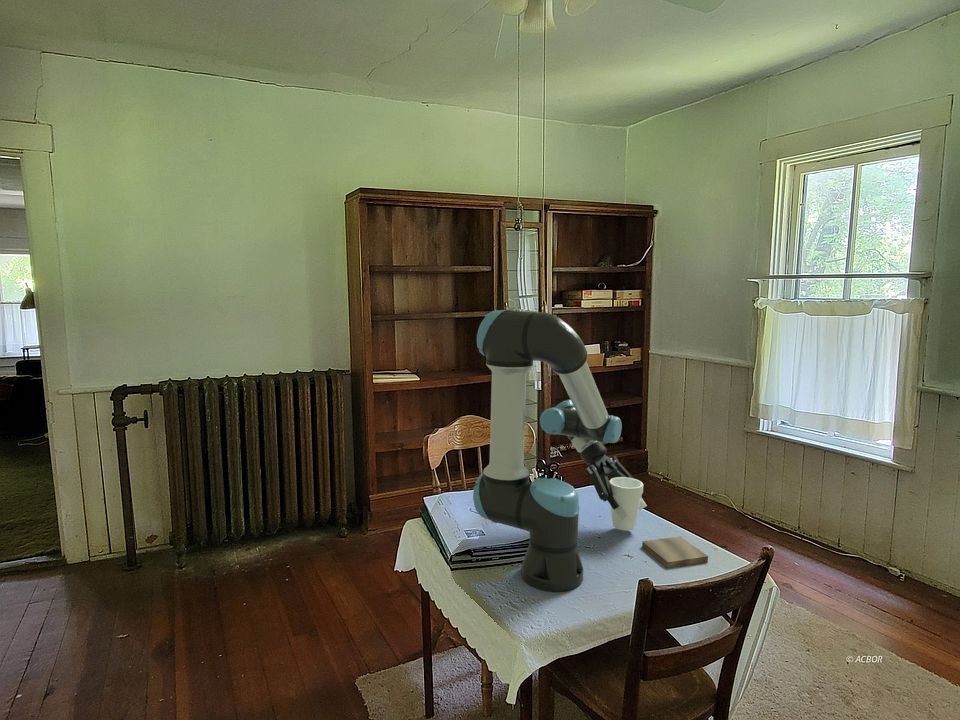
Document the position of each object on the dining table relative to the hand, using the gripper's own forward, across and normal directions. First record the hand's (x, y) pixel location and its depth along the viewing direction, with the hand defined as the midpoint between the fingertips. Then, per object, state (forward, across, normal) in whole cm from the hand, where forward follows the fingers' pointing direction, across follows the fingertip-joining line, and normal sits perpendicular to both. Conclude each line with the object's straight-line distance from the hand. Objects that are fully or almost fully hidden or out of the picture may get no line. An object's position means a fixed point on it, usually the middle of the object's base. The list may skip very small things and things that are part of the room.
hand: (634, 512), depth 171 cm
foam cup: (+1, 0, -6) cm, 6 cm away
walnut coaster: (+14, +3, +5) cm, 15 cm away
